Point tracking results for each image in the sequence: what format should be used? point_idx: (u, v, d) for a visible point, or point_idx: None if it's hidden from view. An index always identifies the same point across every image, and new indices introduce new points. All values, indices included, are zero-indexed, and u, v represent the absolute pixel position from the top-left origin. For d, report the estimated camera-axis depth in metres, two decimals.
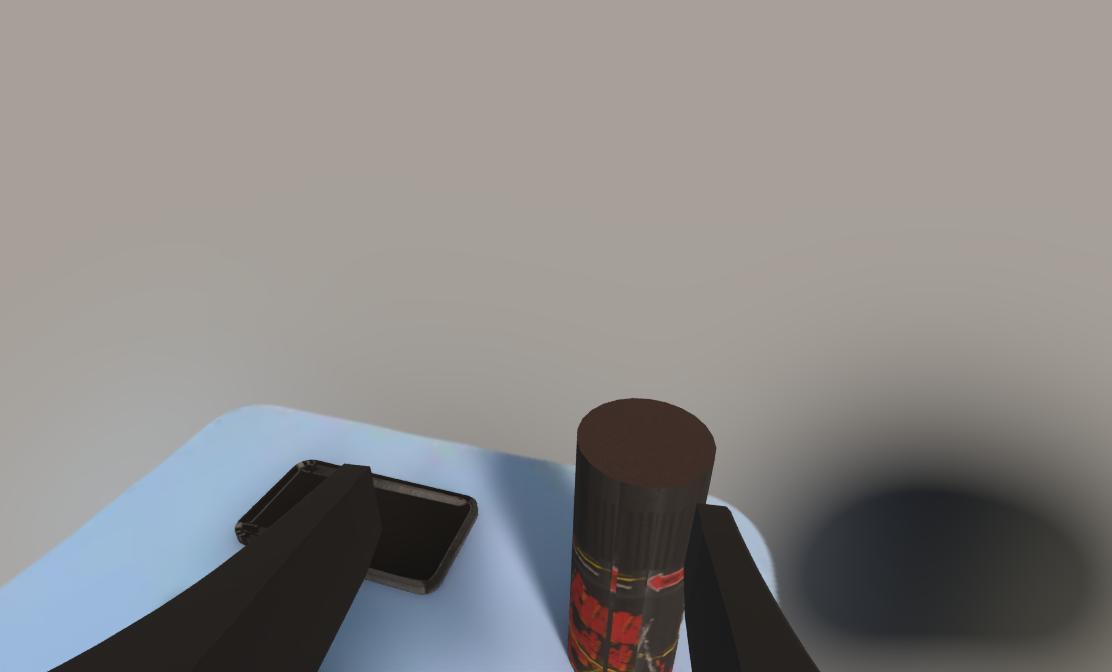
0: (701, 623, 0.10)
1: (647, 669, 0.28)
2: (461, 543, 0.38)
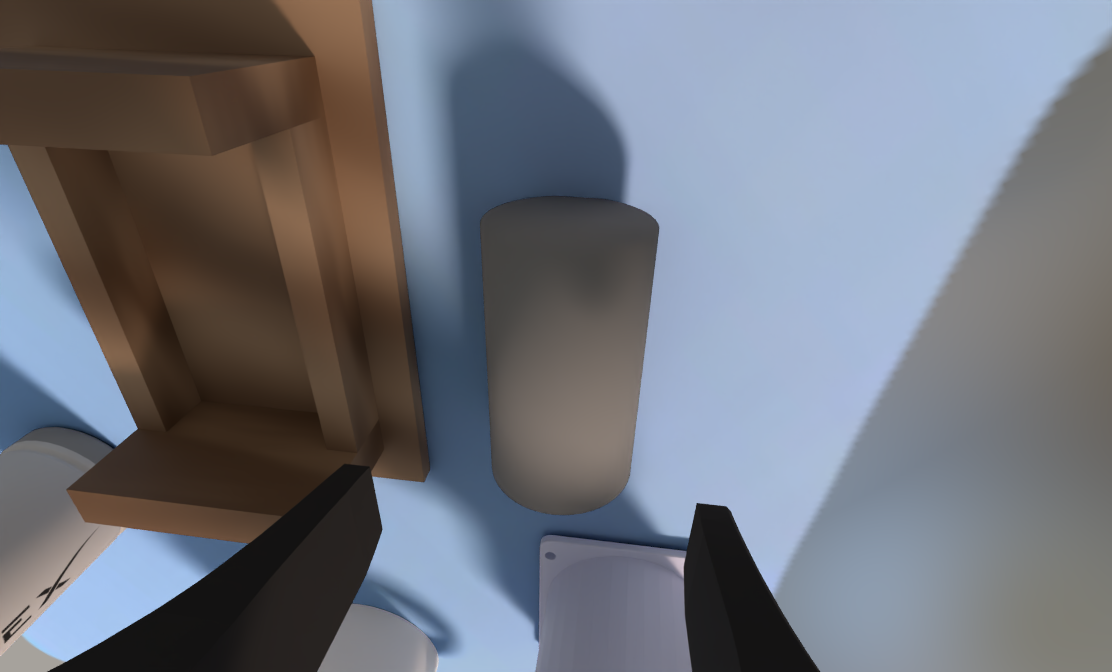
0: (701, 623, 0.10)
1: None
2: None
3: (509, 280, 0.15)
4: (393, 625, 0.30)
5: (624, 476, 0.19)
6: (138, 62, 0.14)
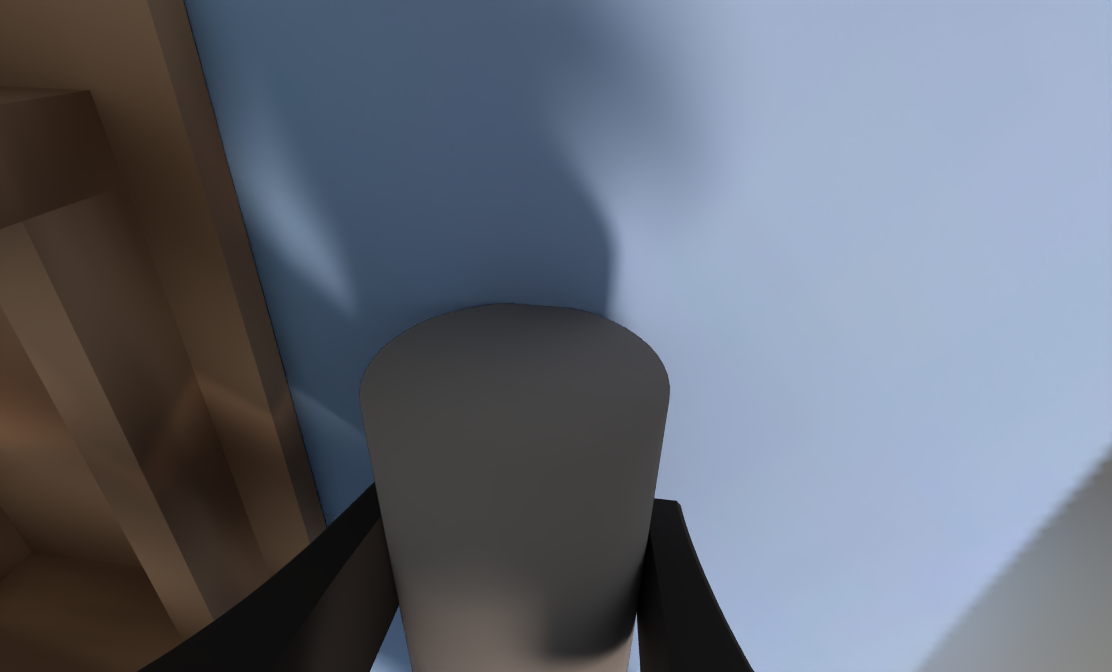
0: (646, 616, 0.11)
1: None
2: None
3: (400, 499, 0.08)
4: None
5: None
6: None
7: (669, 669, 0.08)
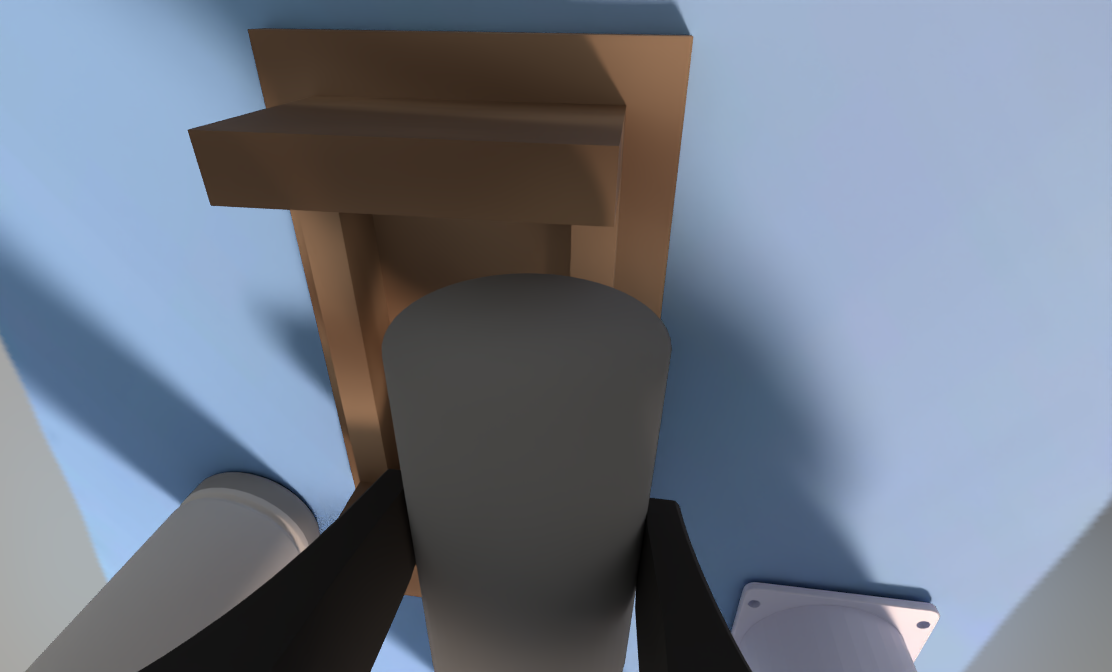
0: (645, 615, 0.11)
1: None
2: None
3: (415, 442, 0.09)
4: None
5: None
6: (496, 121, 0.13)
7: (667, 669, 0.08)
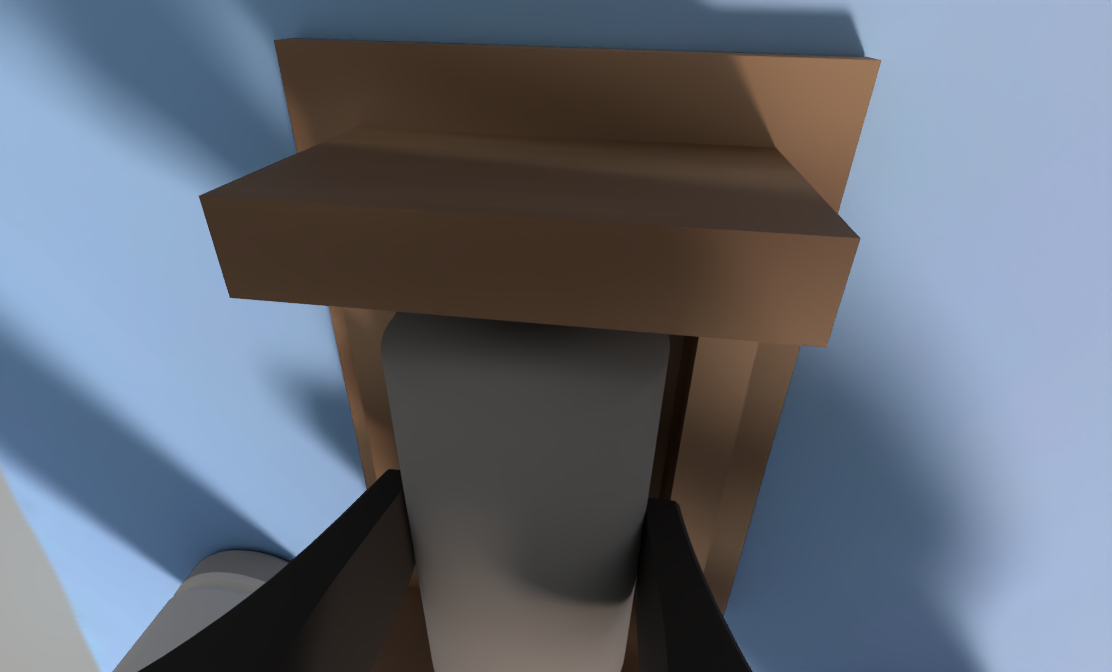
0: (645, 616, 0.11)
1: None
2: None
3: (413, 438, 0.09)
4: None
5: None
6: (632, 181, 0.09)
7: (668, 669, 0.08)
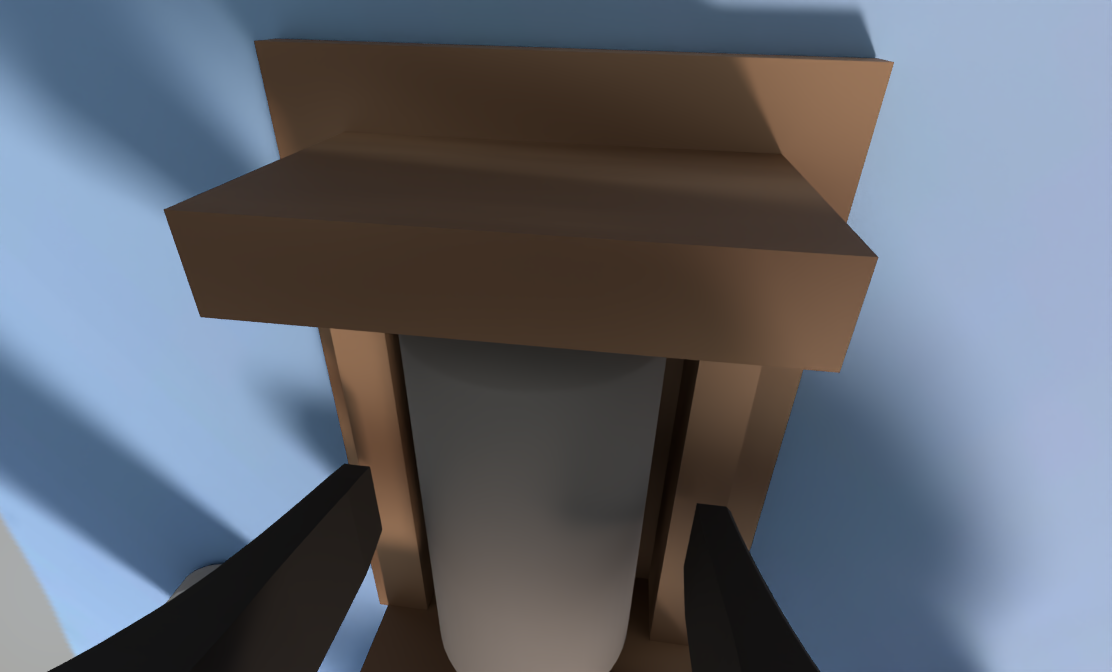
0: (701, 623, 0.10)
1: None
2: None
3: (430, 411, 0.09)
4: None
5: (616, 649, 0.14)
6: (631, 191, 0.09)
7: None
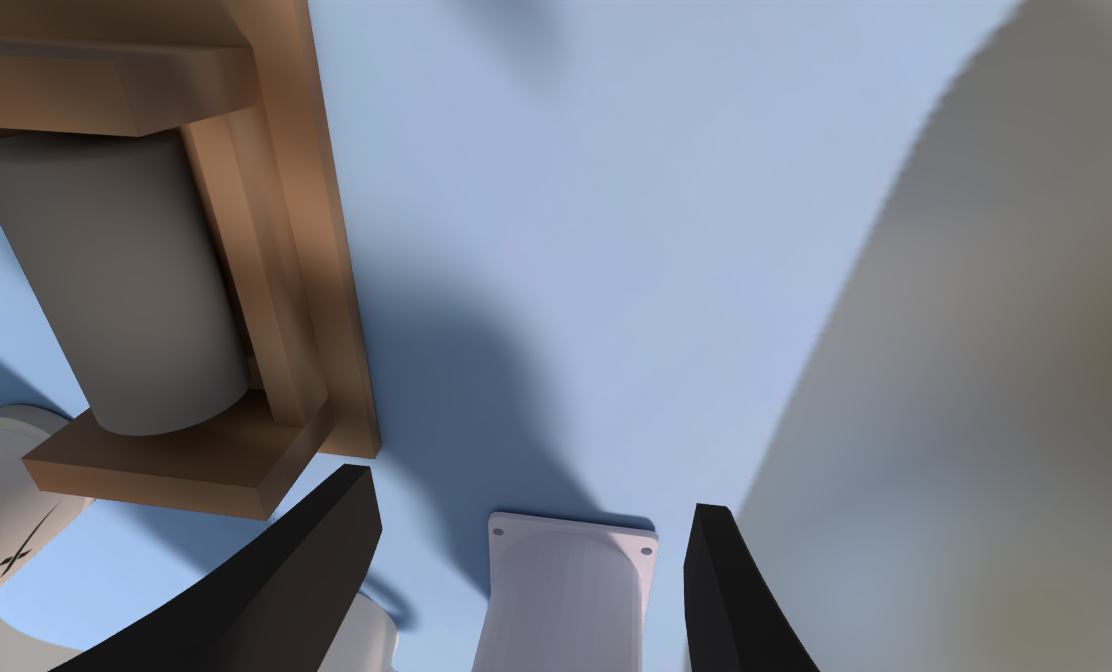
0: (701, 623, 0.10)
1: None
2: None
3: None
4: None
5: (205, 404, 0.20)
6: (76, 49, 0.14)
7: None
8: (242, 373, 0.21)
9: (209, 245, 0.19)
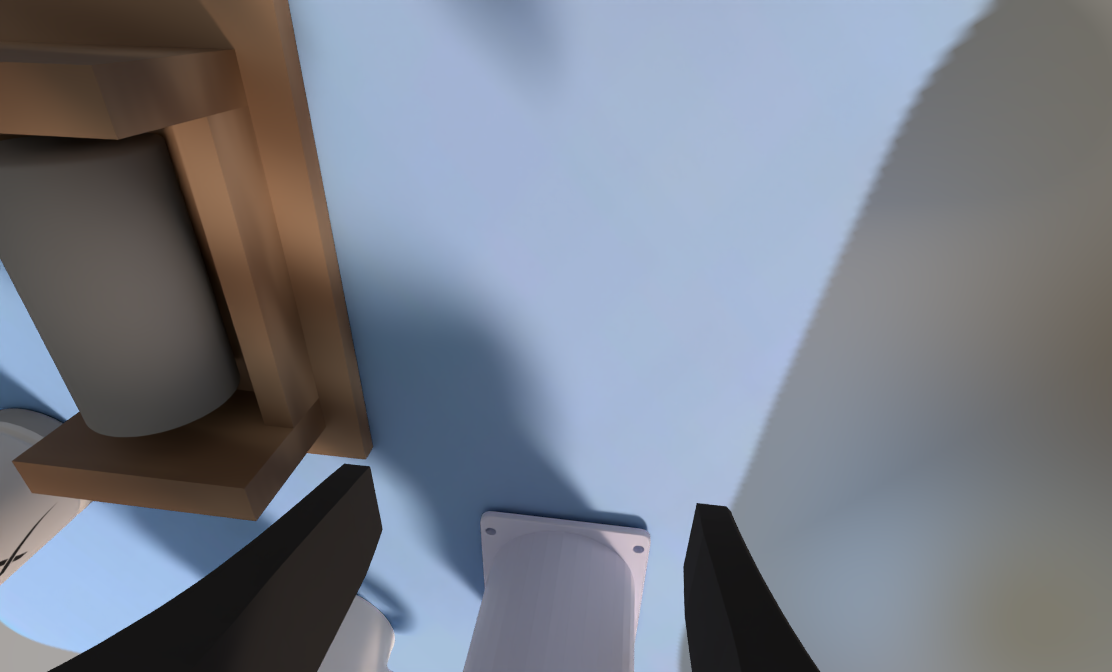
0: (701, 623, 0.10)
1: None
2: None
3: None
4: None
5: (191, 405, 0.20)
6: (57, 53, 0.15)
7: None
8: (229, 375, 0.21)
9: (194, 247, 0.19)
